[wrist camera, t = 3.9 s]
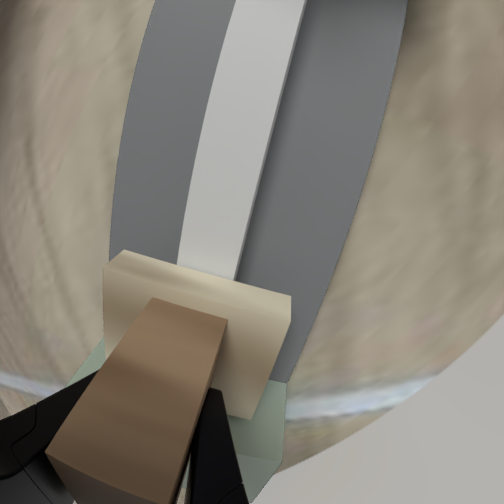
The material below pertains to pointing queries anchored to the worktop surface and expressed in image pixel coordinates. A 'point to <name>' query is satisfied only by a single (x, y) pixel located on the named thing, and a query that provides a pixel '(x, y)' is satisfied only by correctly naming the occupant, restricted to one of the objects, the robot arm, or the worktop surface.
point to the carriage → (164, 377)
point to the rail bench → (253, 159)
